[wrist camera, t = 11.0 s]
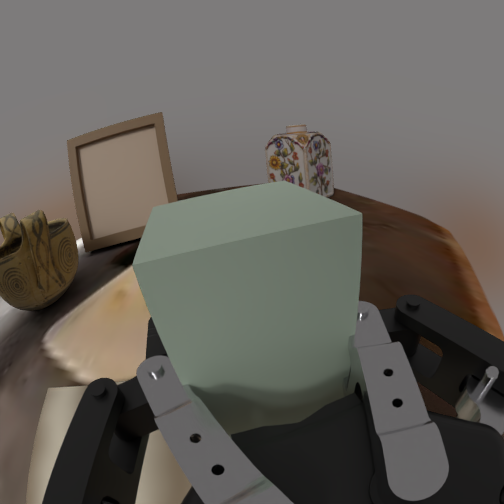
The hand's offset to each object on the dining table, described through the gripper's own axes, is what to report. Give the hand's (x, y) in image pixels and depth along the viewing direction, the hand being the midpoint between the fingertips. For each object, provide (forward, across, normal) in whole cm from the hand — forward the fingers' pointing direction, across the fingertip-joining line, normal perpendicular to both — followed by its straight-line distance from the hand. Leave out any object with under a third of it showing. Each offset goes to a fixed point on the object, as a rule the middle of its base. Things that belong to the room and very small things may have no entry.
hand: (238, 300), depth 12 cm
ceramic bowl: (+28, +29, +11) cm, 41 cm away
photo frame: (+51, +15, +10) cm, 54 cm away
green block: (-3, 0, +7) cm, 8 cm away
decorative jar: (+51, -25, +11) cm, 58 cm away
